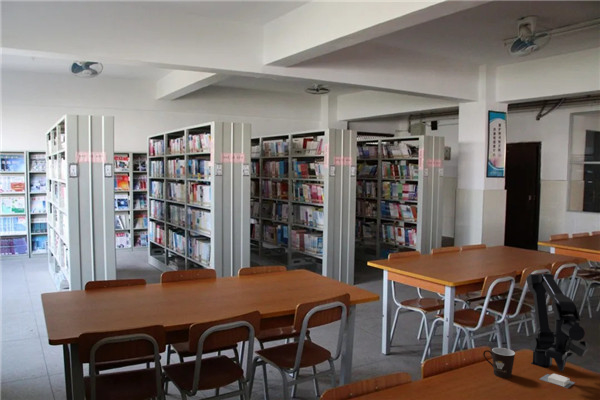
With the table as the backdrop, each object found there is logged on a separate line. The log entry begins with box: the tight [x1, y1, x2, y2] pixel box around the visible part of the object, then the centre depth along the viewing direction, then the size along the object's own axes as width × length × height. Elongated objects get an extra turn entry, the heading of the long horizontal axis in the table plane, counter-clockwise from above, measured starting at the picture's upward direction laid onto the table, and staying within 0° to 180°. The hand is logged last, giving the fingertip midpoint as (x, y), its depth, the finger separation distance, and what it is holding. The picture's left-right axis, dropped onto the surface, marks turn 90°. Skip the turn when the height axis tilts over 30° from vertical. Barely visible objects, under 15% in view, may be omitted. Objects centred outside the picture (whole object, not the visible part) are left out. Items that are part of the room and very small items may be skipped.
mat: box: [539, 373, 576, 389], centre depth 187 cm, size 10×8×1 cm
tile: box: [547, 373, 571, 388], centre depth 186 cm, size 6×2×6 cm
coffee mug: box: [482, 347, 516, 379], centre depth 193 cm, size 12×9×10 cm
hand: (561, 370), depth 187 cm, fingers closed
